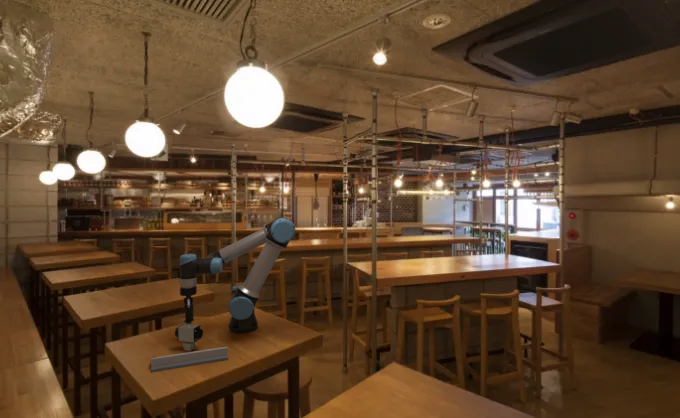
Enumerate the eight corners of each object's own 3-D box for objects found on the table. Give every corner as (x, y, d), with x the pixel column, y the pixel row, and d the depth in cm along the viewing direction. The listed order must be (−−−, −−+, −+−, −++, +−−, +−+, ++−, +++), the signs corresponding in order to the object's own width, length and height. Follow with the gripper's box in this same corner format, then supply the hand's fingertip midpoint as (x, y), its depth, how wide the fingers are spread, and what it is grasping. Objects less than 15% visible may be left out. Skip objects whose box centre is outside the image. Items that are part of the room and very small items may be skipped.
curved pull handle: (225, 351, 174) (225, 342, 174) (228, 359, 165) (228, 350, 165) (152, 362, 162) (152, 353, 162) (150, 372, 154) (150, 362, 153)
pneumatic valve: (198, 352, 172) (197, 326, 172) (174, 350, 175) (174, 324, 174) (204, 347, 178) (204, 322, 177) (182, 345, 180) (181, 320, 180)
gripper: (180, 284, 189) (180, 331, 190) (179, 290, 177) (180, 340, 178) (196, 282, 192) (196, 329, 193) (197, 288, 180) (197, 338, 181)
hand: (189, 334), depth 185 cm, fingers closed
